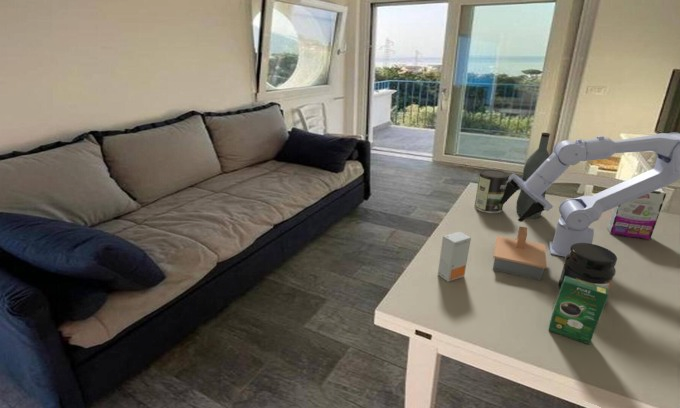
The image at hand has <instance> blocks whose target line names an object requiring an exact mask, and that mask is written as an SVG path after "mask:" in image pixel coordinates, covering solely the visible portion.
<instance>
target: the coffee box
mask: <svg viewBox="0 0 680 408" xmlns="http://www.w3.org/2000/svg"><path fill="white" fill-rule="evenodd" d="M608 298H609V291H608V288H605V287H601V286H598V285H594V284H591V283H588V282H584V281H581V280H577V279H574V278H571V277H567V276H565V277H564V280H563V283H562V286H561V289H559V292H558V295H557V298H556V301H555V304H554V308H553V311H552V313H551V317H550V321H549V324H548V331H549V332H553V333H554V334H557V335H561V336H564V337H567V338H570V339H572V340H576V341H577V342H580V343H584V344H587V345H590V344H591V341H592V340H593V337H594V334H595V331H596V328H597V325H598V324H599V321H600V318H601V316H602V314H603V311H604V308H605V305H606V303H607V301H608Z"/></svg>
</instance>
